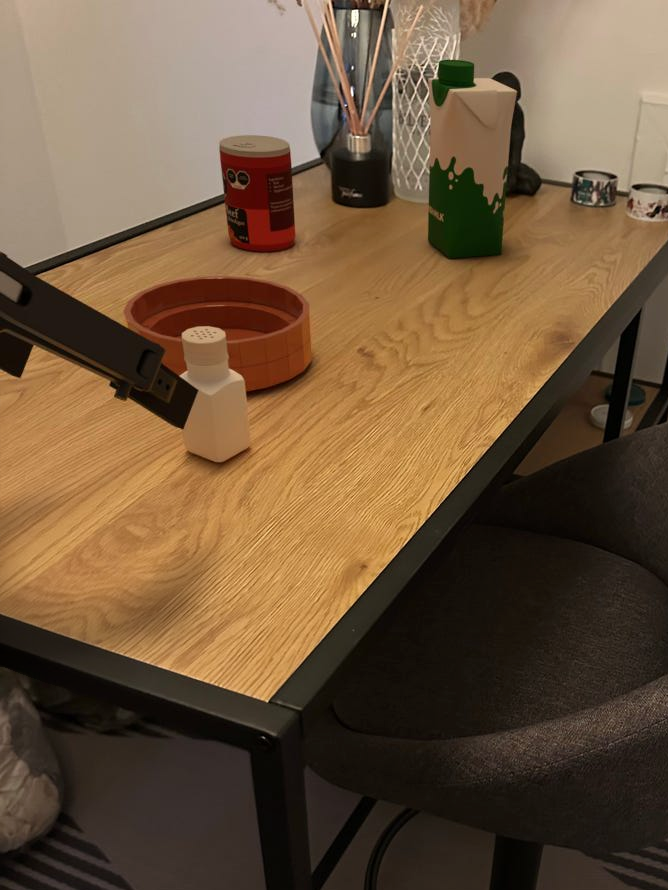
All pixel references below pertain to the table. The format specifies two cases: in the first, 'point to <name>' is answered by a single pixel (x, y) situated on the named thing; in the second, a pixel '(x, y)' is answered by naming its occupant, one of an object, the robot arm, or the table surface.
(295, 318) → the bowl
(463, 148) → the milk carton
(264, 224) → the canned food
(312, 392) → the table surface
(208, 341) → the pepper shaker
